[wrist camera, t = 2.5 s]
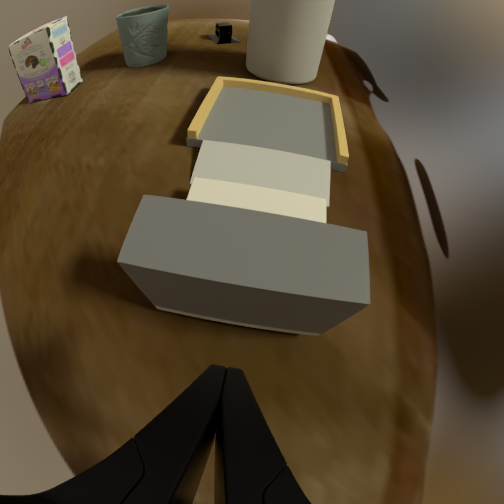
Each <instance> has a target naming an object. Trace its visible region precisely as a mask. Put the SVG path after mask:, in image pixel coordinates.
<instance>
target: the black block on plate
mask: <svg viewBox="0 0 504 504" xmlns="http://www.w3.org/2000/svg"><path fill="white" fill-rule="evenodd" d="M208 36H209V37H210V38H211V39H212V40H213V41H214V42H215V43H216V44H226V43H240V42H239V41H238V40H237V39H236V38H235V37H234V36H233V35H232V25H231V24H230V23H228V22H222V23H216V31H215V34H208Z"/></svg>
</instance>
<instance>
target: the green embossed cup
mask: <svg viewBox="0 0 504 504" xmlns="http://www.w3.org/2000/svg"><path fill="white" fill-rule="evenodd" d="M168 11H169V6H168V5H152V6H146V7H141V8H136V9H133V10H129V11H126V12H124V13H121V14H119V15H117V16H116V20H117V24H118V28H119V34H120V37H121V43H122V47H123V49H124V58H125V61H126V65H127V66H128V67H143V66H148V65H151V64H154V63H157V62H159V61H161V60H163V59H164V58H165V57H166V55H167V23H168Z"/></svg>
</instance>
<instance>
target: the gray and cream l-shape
mask: <svg viewBox="0 0 504 504" xmlns="http://www.w3.org/2000/svg"><path fill="white" fill-rule="evenodd" d="M117 262H118V264H119V265H120V266H121V267H122V269H123V270H124V271H125V272H126V273H127V275H128V276H129V277H130V278H131V279H132V281H133V282H134V283H135V284H136V285H137V287H138V288H139V289H140V290H141V291H142V292H143V293H144V295H145V296H146V297H147V298H148V299H149V300H150V301H151V303H152V304H153V305H154V306H155V307H156V308H157V309H160V310H164V311H169V312H173V313H178V314H182V315H187V316H192V317H197V318H202V319H207V320H212V321H218V322H223V323H229V324H235V325H241V326H247V327H253V328H260V329H266V330H273V331H280V332H288V333H296V334H304V335H313V336H319V335H320V334H322V333H324V332H326V331H327V330H329V329H331V328H332V327H334V326H336V325H338V324H339V323H341V322H343V321H344V320H346V319H347V318H349V317H351V316H352V315H354V314H356V313H357V312H359V311H360V310H362V309H363V308H365V307H367V306H368V305H370V276H369V255H368V241H367V232H365V231H361V230H356V229H351V228H347V227H342V226H337V225H332V224H327V223H326V199H323V198H319V197H314V196H309V195H304V194H299V193H293V192H288V191H283V190H277V189H271V188H266V187H260V186H254V185H247V184H241V183H234V182H228V181H221V180H213V179H206V178H198V177H195V178H194V180H193V183H192V186H191V188H190V191H189V194H188V197H187V200H183V199H176V198H168V197H160V196H152V195H143V198H142V200H141V202H140V204H139V207H138V209H137V211H136V214H135V216H134V218H133V221H132V223H131V226H130V228H129V231H128V233H127V236H126V238H125V241H124V243H123V246H122V249H121V251H120V254H119V257H118V260H117Z"/></svg>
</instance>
